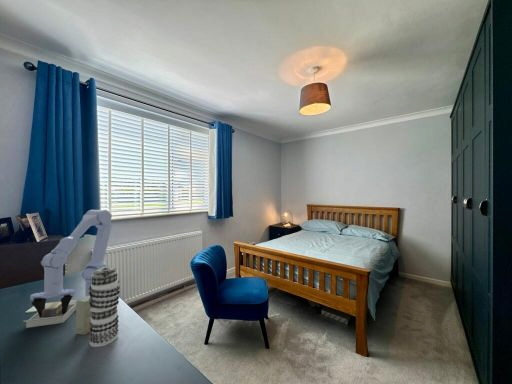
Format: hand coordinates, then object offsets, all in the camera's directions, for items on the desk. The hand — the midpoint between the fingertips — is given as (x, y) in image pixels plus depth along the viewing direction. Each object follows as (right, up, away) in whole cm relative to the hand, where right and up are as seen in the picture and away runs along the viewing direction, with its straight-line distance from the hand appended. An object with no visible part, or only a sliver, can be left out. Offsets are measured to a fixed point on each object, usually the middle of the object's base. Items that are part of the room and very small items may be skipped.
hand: (53, 314), depth 91 cm
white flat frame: (0, -1, 0) cm, 1 cm away
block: (0, -1, 0) cm, 1 cm away
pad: (-13, -2, +8) cm, 16 cm away
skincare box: (+21, -2, -8) cm, 22 cm away
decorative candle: (+31, -2, -13) cm, 33 cm away
